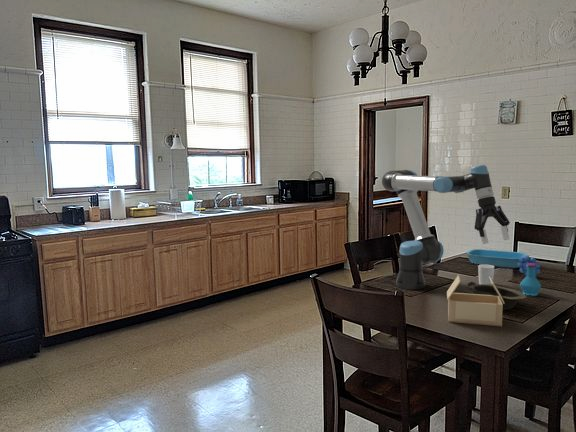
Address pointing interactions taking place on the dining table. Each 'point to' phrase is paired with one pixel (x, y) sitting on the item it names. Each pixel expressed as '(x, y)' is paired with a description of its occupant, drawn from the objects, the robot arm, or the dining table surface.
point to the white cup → (485, 273)
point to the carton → (475, 309)
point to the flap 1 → (453, 287)
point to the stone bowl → (507, 294)
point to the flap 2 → (496, 290)
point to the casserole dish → (495, 257)
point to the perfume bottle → (530, 281)
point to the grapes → (524, 267)
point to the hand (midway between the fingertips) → (496, 241)
